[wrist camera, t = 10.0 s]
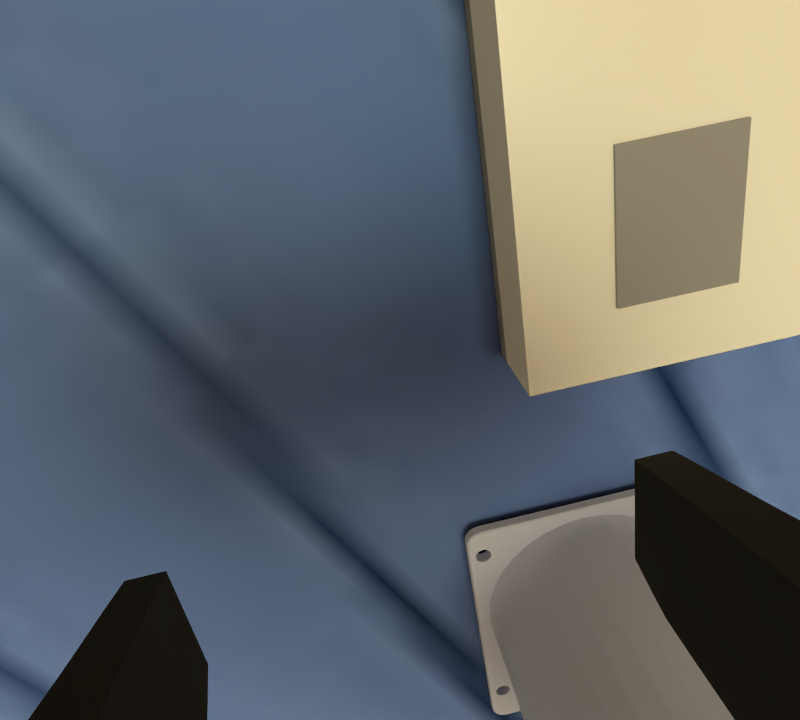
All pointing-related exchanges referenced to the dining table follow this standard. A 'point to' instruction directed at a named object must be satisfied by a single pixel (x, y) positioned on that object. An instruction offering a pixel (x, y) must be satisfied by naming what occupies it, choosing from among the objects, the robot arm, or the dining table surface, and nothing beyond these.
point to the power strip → (638, 179)
